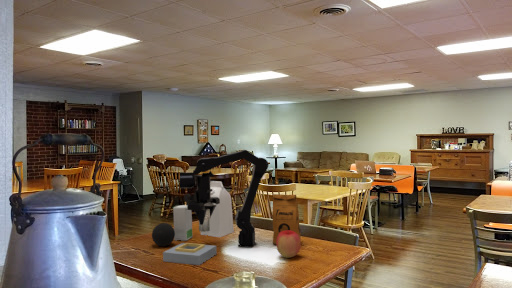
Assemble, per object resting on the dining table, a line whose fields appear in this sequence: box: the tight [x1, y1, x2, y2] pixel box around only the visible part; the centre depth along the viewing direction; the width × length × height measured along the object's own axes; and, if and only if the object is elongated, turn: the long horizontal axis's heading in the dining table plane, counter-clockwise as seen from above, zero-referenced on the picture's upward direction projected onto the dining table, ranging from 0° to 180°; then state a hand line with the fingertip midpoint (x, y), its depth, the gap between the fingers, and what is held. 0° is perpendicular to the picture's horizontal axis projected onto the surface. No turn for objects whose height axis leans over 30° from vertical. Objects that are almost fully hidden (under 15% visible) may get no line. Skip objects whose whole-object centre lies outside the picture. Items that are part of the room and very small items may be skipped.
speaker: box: [151, 222, 175, 247], centre depth 170 cm, size 10×10×10 cm
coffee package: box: [271, 193, 302, 245], centre depth 168 cm, size 10×12×22 cm
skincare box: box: [172, 204, 193, 242], centre depth 181 cm, size 8×7×16 cm
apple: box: [275, 230, 302, 259], centre depth 149 cm, size 10×10×10 cm
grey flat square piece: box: [162, 242, 218, 266], centre depth 151 cm, size 16×14×4 cm
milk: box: [200, 180, 235, 238], centre depth 190 cm, size 12×12×26 cm
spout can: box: [193, 209, 210, 233], centre depth 165 cm, size 7×5×9 cm
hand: (204, 223), depth 165 cm, fingers closed on spout can, 5 cm apart
